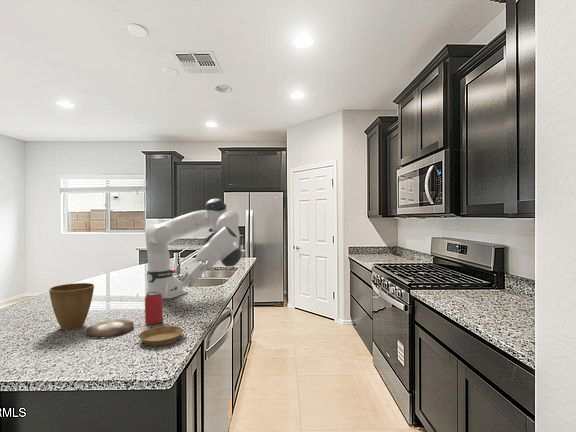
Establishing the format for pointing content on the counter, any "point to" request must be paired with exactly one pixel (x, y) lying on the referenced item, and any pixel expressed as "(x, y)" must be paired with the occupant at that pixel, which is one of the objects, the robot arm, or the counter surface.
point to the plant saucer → (160, 335)
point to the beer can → (153, 308)
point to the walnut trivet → (109, 328)
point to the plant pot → (71, 304)
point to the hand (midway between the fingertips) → (182, 283)
